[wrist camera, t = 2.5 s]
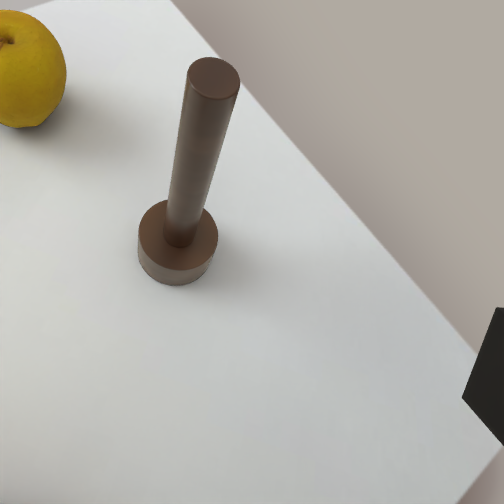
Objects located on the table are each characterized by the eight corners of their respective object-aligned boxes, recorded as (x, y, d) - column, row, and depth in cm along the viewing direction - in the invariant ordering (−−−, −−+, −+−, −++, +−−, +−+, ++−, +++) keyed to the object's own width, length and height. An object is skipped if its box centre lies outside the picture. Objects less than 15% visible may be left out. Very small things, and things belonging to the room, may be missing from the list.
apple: (7, 163, 33) (-28, 81, 25) (-41, 96, 34) (-87, -1, 27) (91, 125, 35) (81, 41, 28) (44, 63, 36) (22, -32, 29)
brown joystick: (221, 235, 34) (294, 60, 19) (195, 297, 32) (255, 154, 17) (156, 208, 34) (177, 7, 19) (125, 268, 32) (121, 96, 16)
